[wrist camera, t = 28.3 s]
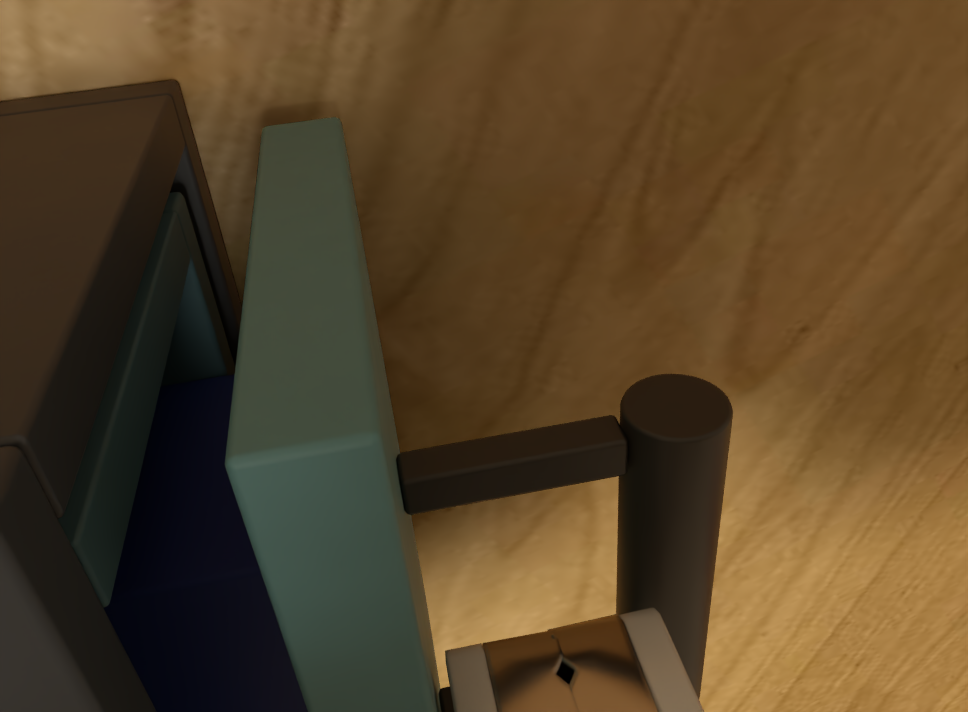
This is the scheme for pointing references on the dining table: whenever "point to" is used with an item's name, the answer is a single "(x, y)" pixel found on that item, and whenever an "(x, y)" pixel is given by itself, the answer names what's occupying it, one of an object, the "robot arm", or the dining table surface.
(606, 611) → the dining table surface
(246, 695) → the blue cube
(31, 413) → the drawer cabinet
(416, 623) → the teal drawer
